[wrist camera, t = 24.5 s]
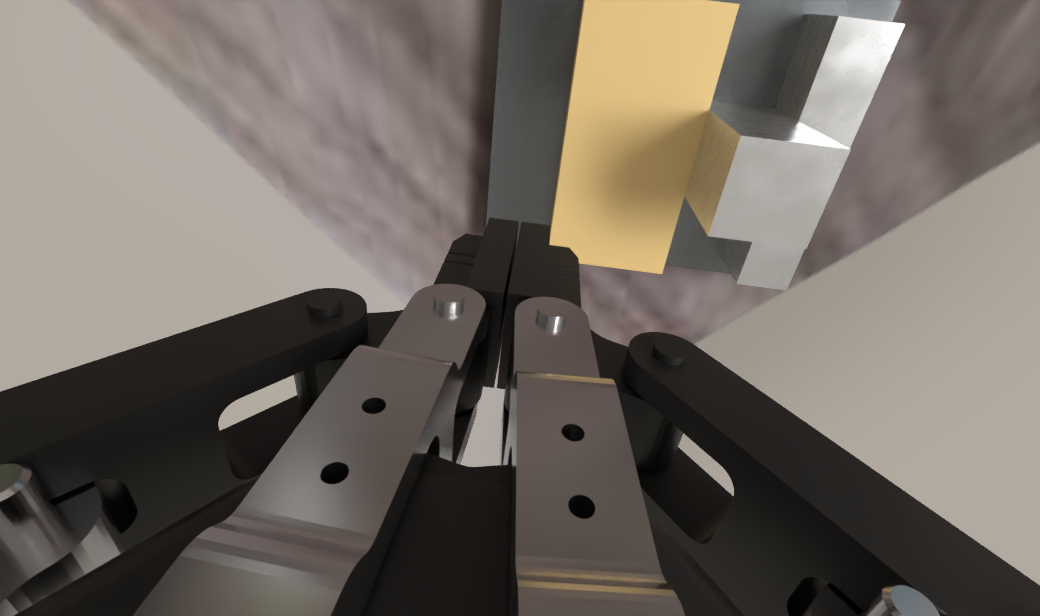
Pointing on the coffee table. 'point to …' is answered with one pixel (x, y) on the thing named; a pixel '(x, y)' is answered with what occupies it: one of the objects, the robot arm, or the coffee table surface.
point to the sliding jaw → (635, 125)
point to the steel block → (762, 175)
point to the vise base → (743, 80)
